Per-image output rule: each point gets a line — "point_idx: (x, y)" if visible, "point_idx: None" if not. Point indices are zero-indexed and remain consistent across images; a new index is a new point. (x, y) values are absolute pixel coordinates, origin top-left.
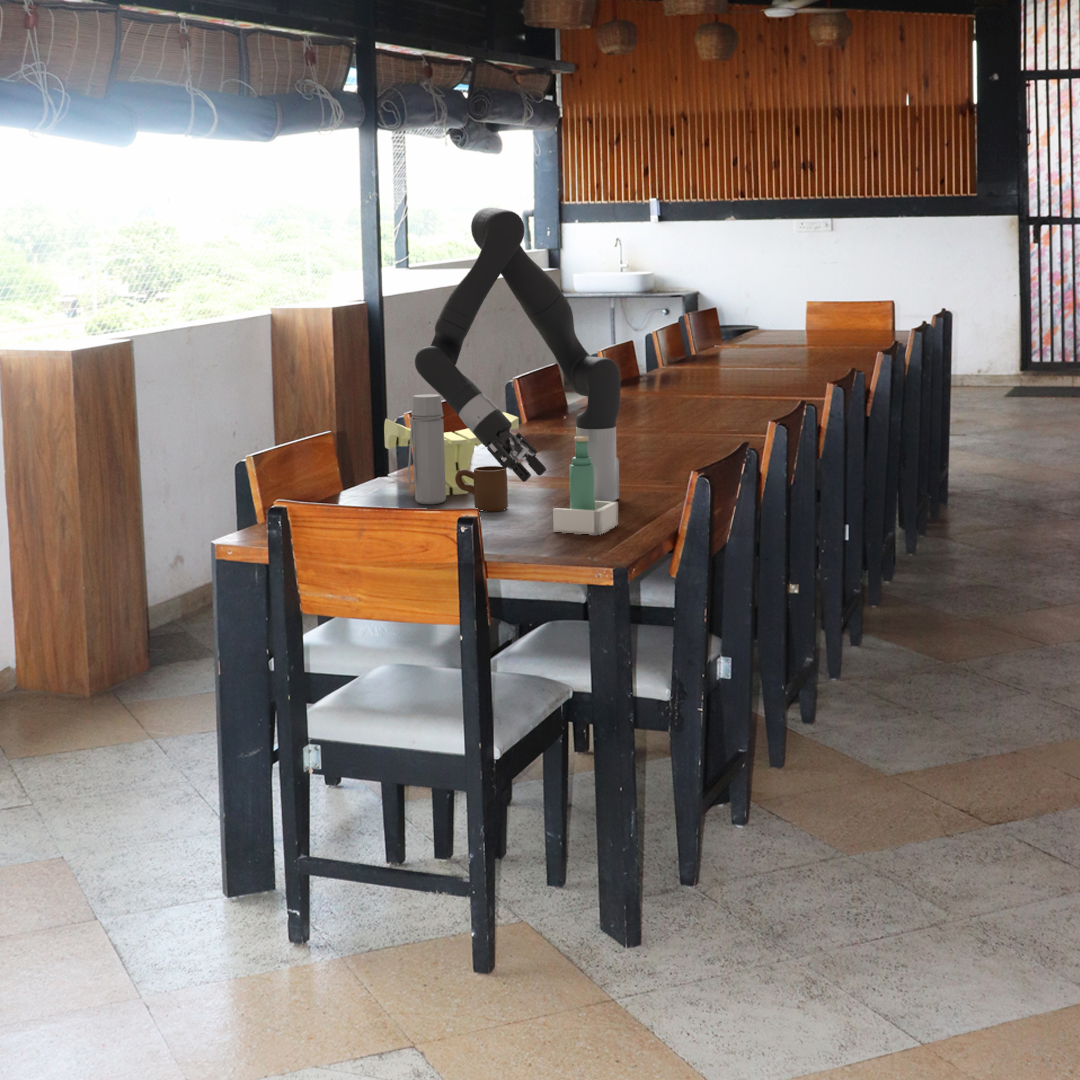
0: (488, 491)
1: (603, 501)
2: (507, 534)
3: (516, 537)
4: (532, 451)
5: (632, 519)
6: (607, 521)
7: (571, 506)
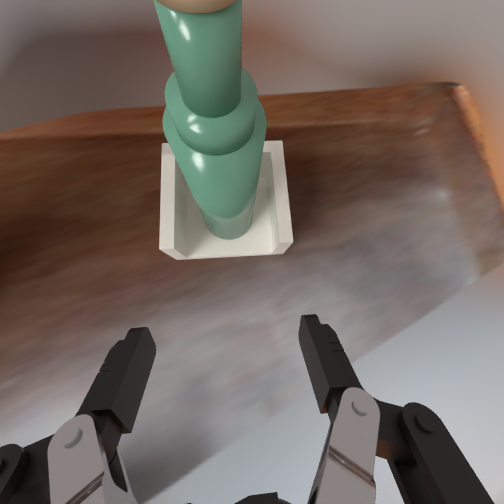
0: None
1: (165, 173)
2: None
3: (347, 301)
4: (48, 464)
5: (116, 169)
6: None
7: (249, 215)
